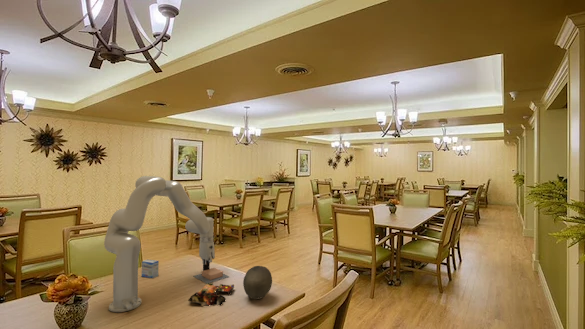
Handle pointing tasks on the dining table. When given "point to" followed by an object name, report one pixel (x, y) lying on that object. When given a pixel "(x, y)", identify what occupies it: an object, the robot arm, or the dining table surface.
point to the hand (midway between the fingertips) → (206, 270)
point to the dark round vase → (257, 282)
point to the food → (211, 294)
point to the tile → (212, 273)
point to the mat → (208, 279)
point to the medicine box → (150, 268)
